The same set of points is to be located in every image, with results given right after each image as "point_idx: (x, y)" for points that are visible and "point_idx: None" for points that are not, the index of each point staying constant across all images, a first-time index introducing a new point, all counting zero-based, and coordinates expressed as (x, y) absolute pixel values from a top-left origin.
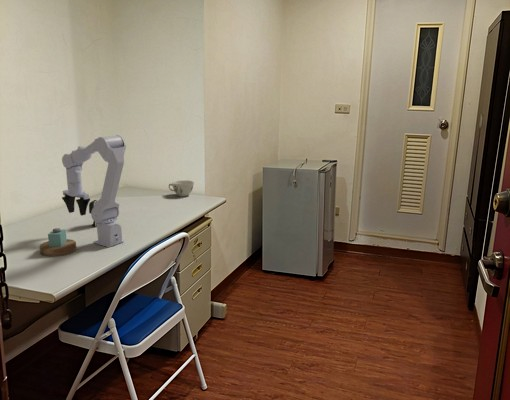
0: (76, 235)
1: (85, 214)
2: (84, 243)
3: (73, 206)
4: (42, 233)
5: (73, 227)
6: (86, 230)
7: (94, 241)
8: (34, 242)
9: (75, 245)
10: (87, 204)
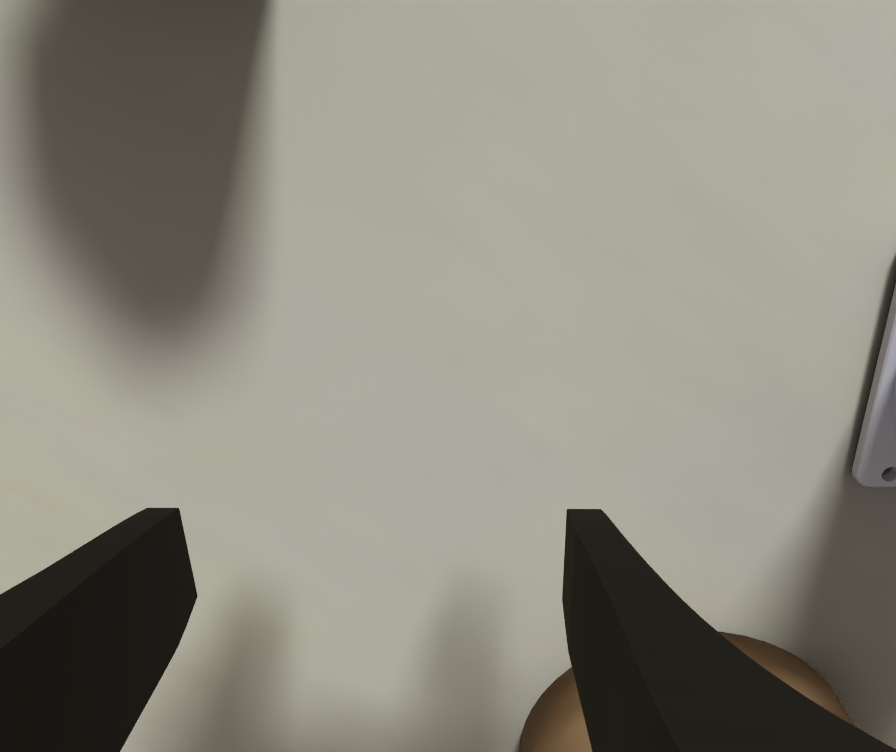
0: (408, 399)
1: (608, 517)
2: (751, 527)
3: (104, 597)
4: (27, 557)
5: (25, 193)
6: (313, 176)
7: (864, 469)
8: (275, 736)
9: (851, 723)
10: (773, 692)
